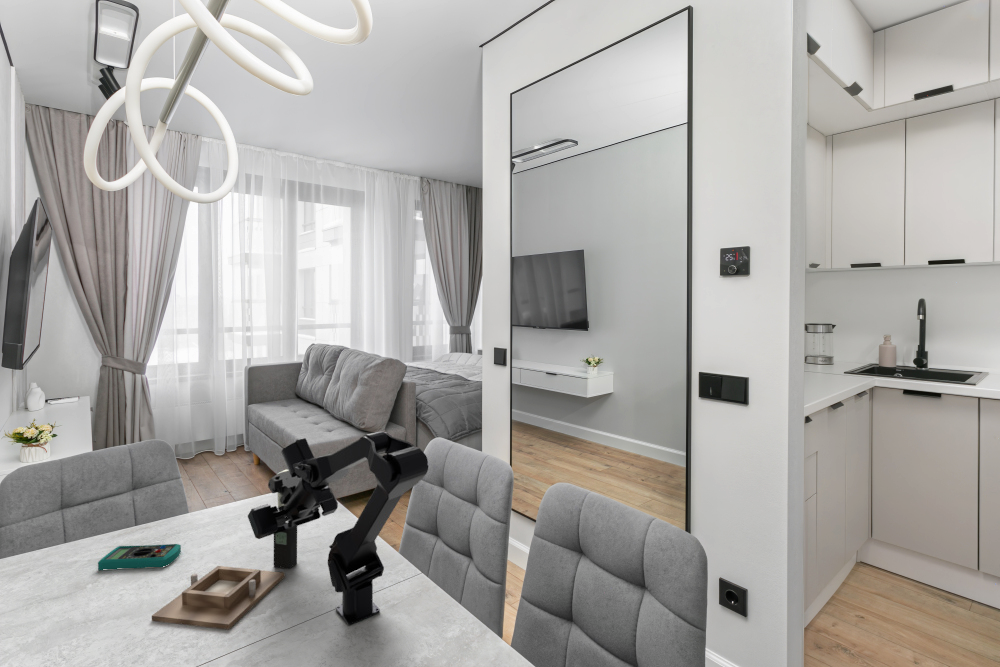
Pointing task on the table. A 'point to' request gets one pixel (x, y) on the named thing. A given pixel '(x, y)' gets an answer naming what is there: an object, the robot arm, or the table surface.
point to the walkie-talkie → (286, 546)
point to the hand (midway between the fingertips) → (282, 528)
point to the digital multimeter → (140, 556)
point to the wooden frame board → (219, 597)
